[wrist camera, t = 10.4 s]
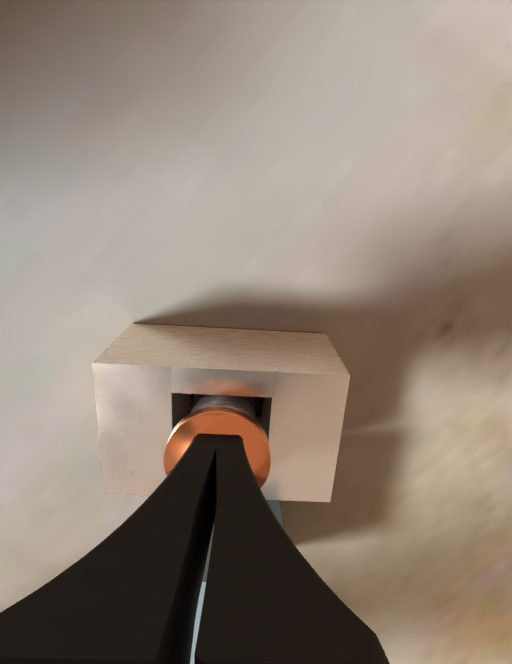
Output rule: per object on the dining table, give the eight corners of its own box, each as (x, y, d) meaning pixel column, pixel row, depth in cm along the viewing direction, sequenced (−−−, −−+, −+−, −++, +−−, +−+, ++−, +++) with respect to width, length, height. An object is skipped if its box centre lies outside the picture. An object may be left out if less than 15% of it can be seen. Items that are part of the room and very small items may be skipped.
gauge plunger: (189, 416, 16) (164, 504, 12) (189, 348, 15) (162, 414, 11) (261, 419, 16) (266, 507, 12) (266, 352, 15) (274, 419, 11)
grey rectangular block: (136, 428, 17) (103, 493, 13) (131, 323, 15) (92, 363, 11) (312, 436, 17) (330, 502, 13) (325, 333, 15) (350, 375, 12)
